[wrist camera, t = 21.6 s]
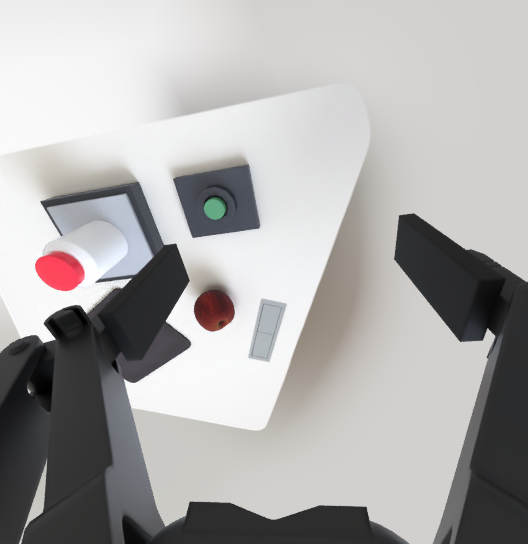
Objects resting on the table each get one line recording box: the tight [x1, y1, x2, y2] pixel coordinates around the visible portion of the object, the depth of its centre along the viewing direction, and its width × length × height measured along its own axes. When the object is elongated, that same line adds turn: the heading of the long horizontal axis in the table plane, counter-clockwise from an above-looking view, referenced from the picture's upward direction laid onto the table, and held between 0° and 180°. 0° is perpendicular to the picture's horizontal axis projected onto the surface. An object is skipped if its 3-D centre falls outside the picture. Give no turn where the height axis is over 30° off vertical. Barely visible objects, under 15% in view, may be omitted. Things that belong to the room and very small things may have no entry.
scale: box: [41, 182, 164, 283], centre depth 45 cm, size 16×16×3 cm
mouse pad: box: [87, 289, 191, 383], centre depth 60 cm, size 25×21×1 cm
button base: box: [173, 165, 260, 238], centre depth 41 cm, size 12×10×3 cm
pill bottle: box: [35, 220, 128, 291], centre depth 38 cm, size 8×8×11 cm
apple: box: [194, 290, 235, 331], centre depth 49 cm, size 7×8×8 cm
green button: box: [204, 197, 226, 220], centre depth 39 cm, size 3×3×2 cm
